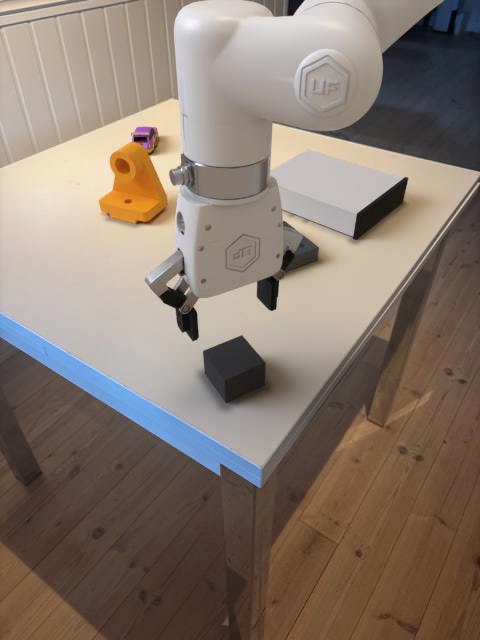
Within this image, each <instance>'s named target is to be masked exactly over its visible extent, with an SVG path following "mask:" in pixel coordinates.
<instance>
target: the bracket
mask: <svg viewBox="0 0 480 640" xmlns="http://www.w3.org/2000/svg"><path fill="white" fill-rule="evenodd" d="M149 154H150V153H148V152H147V151H146V149H145V148H144V147H143V146H142V145H141V144H139V143H136V142H132V141H131V142H129V143H127V144H125V145H123V146H122V147H120V148H119V149H117V150H116V151H114V152H113V153H111V155H110V156H109V166H110V169H111V171H112V173H113V174H114V179H113V186H112V190H110V191H109V192H108V193H107V194H105V195H104V196H102V197H101V198H99V199H98V204H99V205H98V206H99V209H100V211H101V212H102V213H106V214H109V217H110V218H111V219H116V220H119V221H123V222H126V223H127V222H128V223H131V224H137V223H138V222H143V223H145V222H150V221H151V220H152V219H153V218H154V217H155V216H157V214H159V213H160V212H161V211H163V210H164V209H165V208H166V207H168V205H169V202H168V195H167V193H166V191H165V189H164V186H163V184H162V181H161V179H160V177H159V175H158V172H157V170H156V168H155V165H154V163H153V161H152V159H151V156H150V155H149Z"/></svg>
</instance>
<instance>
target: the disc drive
mask: <svg viewBox="0 0 480 640" xmlns="http://www.w3.org/2000/svg"><path fill="white" fill-rule="evenodd" d="M270 176H272V177H274V178H275V179H276V180H277V183H278V188H279V193H280V199H281V206H282V211H285V212H288V213H291V214H293V215H296V216H299V217H301V218H304V219H306V220H309V221H311V222H314V223H317V224H319V225H322V226H324V227H326V228H329V229H332V230H335V231H337V232H340V233H342V234H345V235H347V236H350V237H352V239H353V240H354V241H357V240H358V239H360V237H362V236H363V235H364V234H365V233H366V232H367V231H369V230H370V229H372V228H373V227H374V226H375V225H376V224H378V223H379V222H380V221H382V220H383V219H384V218H385V217H386V216H388V215H389V214H390V213H392V211H394V210H395V209H396V208H397V207H399V206H400V205H401V204H402V203H404V201H405V195H406V191H407V187H408V181H409V177H408V176H404V177H402V176H398V175H396V174H395V175H394V174H391V173H388V172H385V171H381V170H378V169H375V168H371V167H368V166H365V165H362V164H358V163H355V162H352V161H349V160H345V159H341V158H338V157H335V156H332V155H328V154H325V153H321V152H318V151H315V150H311V149H306V150H304V151H303V152H301V153H299V154H297V155H295V156H293V157H292V158H290V159H288V160H286V161H285V162H283V163H280V164H279V165H277V166H275V167H273V168H272V169H270Z"/></svg>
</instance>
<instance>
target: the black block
mask: <svg viewBox="0 0 480 640" xmlns="http://www.w3.org/2000/svg"><path fill="white" fill-rule="evenodd" d="M202 358H203V368H204V369H203V371H204V375H205V376H206V377H207V379H208V380H209V382H210V383H211V384H212V386H213V387H214V389H215V390H216V392H217V393H218V394H219V396H220V397H221V398H222V400H223V401H224V402H225V403H229V402H231V401H233V400H235V399H237V398H239V397H242V396H244V395H246V394H248V393H250V392H253V391H254V390H257V389H259V388H262V387H263V386H265V385H266V361H265V360H264V359H263V358H262V356H261V355H260V353H258V352H257V350H256V349H255V348H254V347H253V346H252V345H251V343H249V342H248V340H247V339H246V338H245V336H243V334H241V335H238V336H236V337H233V338H231V339H228V340H226V341H223V342H221V343H219V344H217V345H214V346H211V347H208V348H205V349H204V350H202Z"/></svg>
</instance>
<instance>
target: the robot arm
mask: <svg viewBox="0 0 480 640" xmlns="http://www.w3.org/2000/svg"><path fill="white" fill-rule="evenodd" d="M444 1H445V0H303V2H302V3H301V4H300V6H299V7H298V8H297V9H296V11H295V12H294V14H293V15H285V16H283V15H282V16H274V15H273V13H272V11H271V10H270V9H269V8H268V7H267V6H265V5H263V4H261V3H258V2H256V1H251V0H200V1H194V2H191V3H189V4H187V5H184V6H183V7H182V8H181V9H180V10H179V11H178V13H177V15H176V17H175V18H174V19H175V20H174V23H173V43H174V58H175V70H176V83H177V85H176V86H177V97H178V109H179V121H180V122H179V123H180V133H181V146H182V147H181V148H182V153H180V165H178V166H177V167H176V168H172V169H169V170H168V176H169V181H170V183H171V184H172V186H173V187H176V186H179V187H178V194H177V199H176V206H175V218H174V253H173V254H171V255H170V256H169V257H168V258H167V259H165V260H163V262H162V263H160V264H159V265H157V266H156V267H155V268H154V269H152V271H150V272H149V273H148V274H147V275H146V276H145V277H144V282H145V283H146V285H147V287H148V288H149V289H150V290H151V291H152V292H153V293H154V294H155V296H156V297H158V298H159V299H160V301H161V302H162V303H163V304H164V305H167V306H168V307H171V308H174V309H175V316H176V323H177V324H176V325H177V327H178V329H179V330H180V332H181V333H182V334H183V333H186V334H187V336H188V338H189V339H190V340H191V341H192V342H196V341H198V340H199V338H200V333H199V318H198V317H199V316H198V312H197V309H196V308H195V305H196V304H197V302H198V300H199V299H209V298H214V297H215V296H220V295H222V294H225V293H228V292H231V291H235V290H237V289H239V288H240V289H241V288H243V287H245V286H248V285H252V284H254V283H256V298H257V299H258V300H259V301H260V303H262V304H263V305H264V307H265V308H266V309H267V310H268V311H270V312H274V311H276V310H277V306H278V305H277V304H278V298H279V290H280V289H279V288H280V281H282V280H283V279H284V278H285V276H286V272H284V270H285V269H286V268H287V267H288V265H289V264H290V263H291V262H292V260H293V259H294V257H295V254H294V252H295V251H296V250H297V248H298V246H299V244H300V242H301V240H302V238H303V235H304V234H302V233H301V232H300V231H299V230H297V229H296V228H295V229H296V230H295V229H292V228H288V227H284V226H283V221H284V216H283V209H282V206H281V199H280V193H279V188H278V183H277V180H276V179H275V178H274V177H272V176H270V170H271V164H272V142H273V123H274V122H276V123H280V124H284V125H288V126H291V127H296V128H299V129H302V130H303V129H304V130H308V131H317V132H332V131H337V130H342V129H344V128H347V127H350V126H351V125H353V124H355V123H356V122H358V121H359V120H360V119H361V118H363V117H364V116H365V115H366V114H367V113H368V112H369V110H370V109H371V108H372V106H373V105H374V103H375V102H376V100H377V98H378V95H379V93H380V90H381V85H382V82H383V74H384V62H383V61H384V60H383V54H384V53H385V52H386V51H387V50H388V49H389V48H390V47H391V46H392V45H393V44H394V43H396V41H398V40H399V39H400V38H401V37H402V36H403V35H404V34H406V33H407V32H408V31H410V29H411V28H412V27H414V25H416V24H417V23H419V21H420V20H422V19H423V18H424V17H425V16H426V15H428V14H429V13H430V12H431V11H433V10H434V9H435V8H436V7H438V6H440V4H442V3H443V2H444ZM299 232H300V233H299ZM177 275H178V276H179V278H178V280H177V281H176V283H175V284H174V286H173V287H170V286H168V282H170V281H171V280H172V279H173V278H175V277H176V276H177ZM186 292H187V293H186Z"/></svg>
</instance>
